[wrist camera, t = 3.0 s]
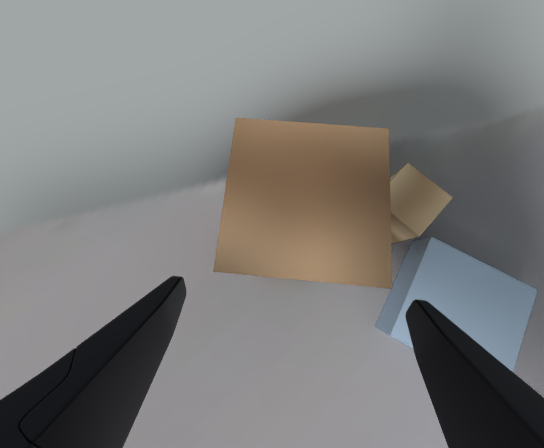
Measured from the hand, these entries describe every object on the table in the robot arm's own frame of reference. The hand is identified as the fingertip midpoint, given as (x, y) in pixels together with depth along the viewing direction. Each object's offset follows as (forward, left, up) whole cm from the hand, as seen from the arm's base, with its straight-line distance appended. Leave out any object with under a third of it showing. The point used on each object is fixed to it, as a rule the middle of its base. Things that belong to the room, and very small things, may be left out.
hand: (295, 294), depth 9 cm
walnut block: (+3, -2, -10) cm, 11 cm away
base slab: (-9, -9, -10) cm, 16 cm away
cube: (0, -11, -10) cm, 15 cm away
